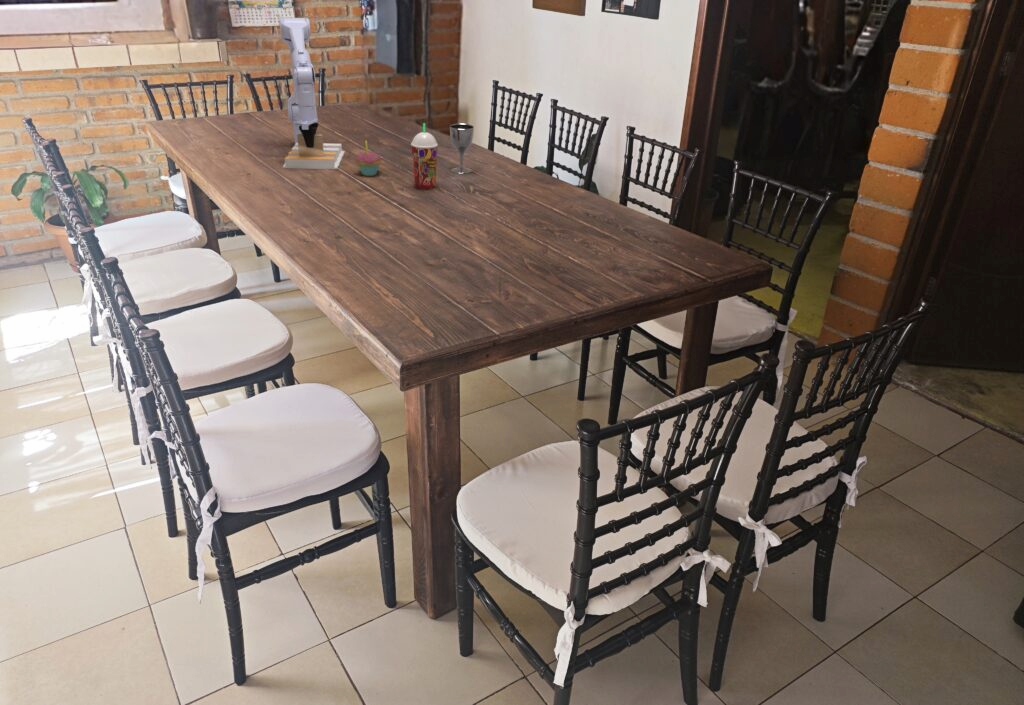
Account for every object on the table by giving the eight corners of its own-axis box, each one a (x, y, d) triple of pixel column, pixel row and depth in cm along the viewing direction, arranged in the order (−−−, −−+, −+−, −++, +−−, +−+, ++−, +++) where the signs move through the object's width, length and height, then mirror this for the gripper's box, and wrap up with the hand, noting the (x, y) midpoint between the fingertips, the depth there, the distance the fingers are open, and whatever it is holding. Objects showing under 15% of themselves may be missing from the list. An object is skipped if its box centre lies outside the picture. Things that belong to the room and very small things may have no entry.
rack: (294, 151, 271) (293, 142, 270) (344, 152, 273) (344, 143, 271) (282, 168, 253) (281, 158, 251) (337, 169, 254) (336, 159, 252)
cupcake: (379, 178, 248) (377, 141, 242) (353, 176, 248) (351, 140, 242) (383, 170, 255) (382, 134, 249) (358, 169, 255) (356, 133, 249)
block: (300, 157, 257) (298, 134, 253) (324, 158, 257) (322, 134, 253) (299, 159, 255) (297, 135, 251) (323, 159, 256) (321, 135, 252)
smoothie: (433, 191, 238) (433, 127, 228) (408, 189, 239) (406, 125, 229) (441, 184, 245) (440, 121, 235) (416, 181, 246) (415, 119, 236)
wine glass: (474, 168, 262) (475, 124, 255) (471, 174, 256) (471, 129, 248) (452, 166, 263) (452, 122, 256) (448, 172, 256) (448, 128, 249)
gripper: (298, 100, 253) (302, 140, 260) (290, 109, 241) (294, 151, 247) (319, 100, 254) (322, 141, 261) (312, 109, 241) (316, 152, 248)
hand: (310, 146), depth 254 cm, fingers closed on block, 2 cm apart
